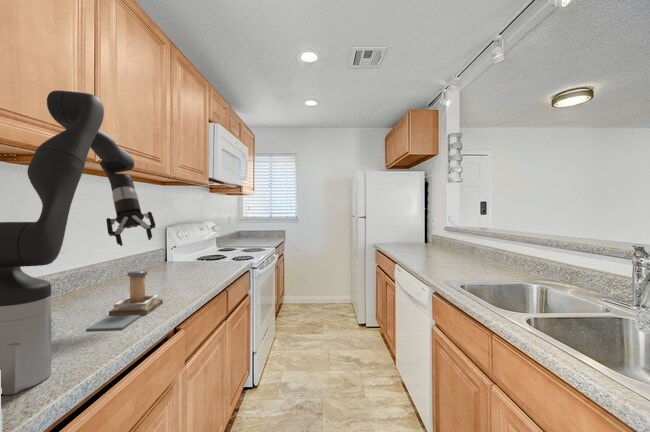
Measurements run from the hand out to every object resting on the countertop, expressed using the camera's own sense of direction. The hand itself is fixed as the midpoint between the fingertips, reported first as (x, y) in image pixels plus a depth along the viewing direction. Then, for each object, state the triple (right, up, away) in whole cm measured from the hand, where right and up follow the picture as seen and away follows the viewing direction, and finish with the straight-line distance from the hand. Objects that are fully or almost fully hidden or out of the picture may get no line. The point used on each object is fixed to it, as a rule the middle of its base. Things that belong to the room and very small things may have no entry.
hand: (135, 242), depth 100 cm
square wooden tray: (0, -24, +1) cm, 24 cm away
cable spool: (0, -23, +1) cm, 23 cm away
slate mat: (+2, -24, -12) cm, 27 cm away
